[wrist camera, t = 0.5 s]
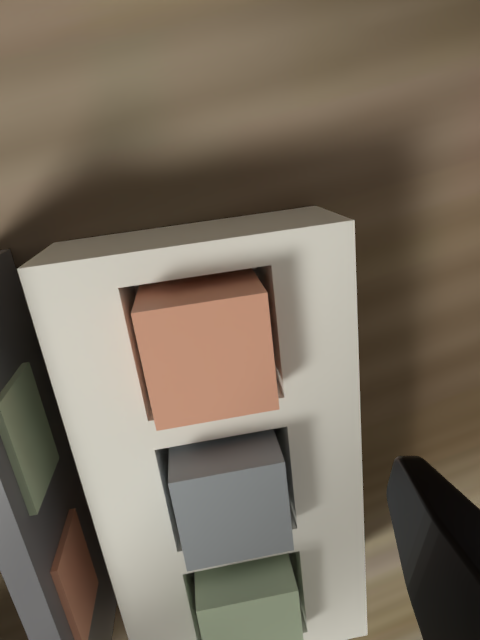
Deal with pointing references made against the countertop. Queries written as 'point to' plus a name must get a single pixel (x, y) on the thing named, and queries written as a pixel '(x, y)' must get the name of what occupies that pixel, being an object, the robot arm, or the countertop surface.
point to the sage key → (249, 601)
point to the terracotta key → (206, 348)
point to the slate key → (230, 499)
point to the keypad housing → (153, 446)
